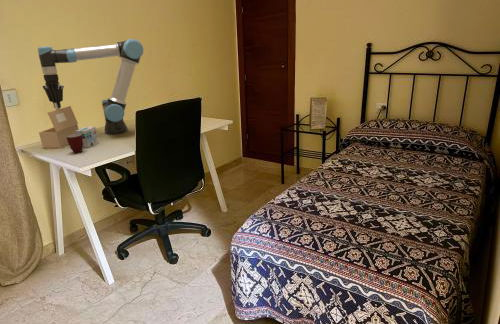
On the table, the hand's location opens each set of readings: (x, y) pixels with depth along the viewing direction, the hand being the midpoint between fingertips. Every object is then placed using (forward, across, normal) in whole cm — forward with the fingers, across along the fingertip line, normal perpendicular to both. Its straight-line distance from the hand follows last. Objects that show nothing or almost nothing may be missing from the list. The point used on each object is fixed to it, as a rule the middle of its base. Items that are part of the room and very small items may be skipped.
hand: (58, 112), depth 213 cm
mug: (+20, +20, -15) cm, 32 cm away
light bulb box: (+20, +19, -3) cm, 27 cm away
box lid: (+3, +2, 0) cm, 4 cm away
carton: (+20, -2, 0) cm, 20 cm away
